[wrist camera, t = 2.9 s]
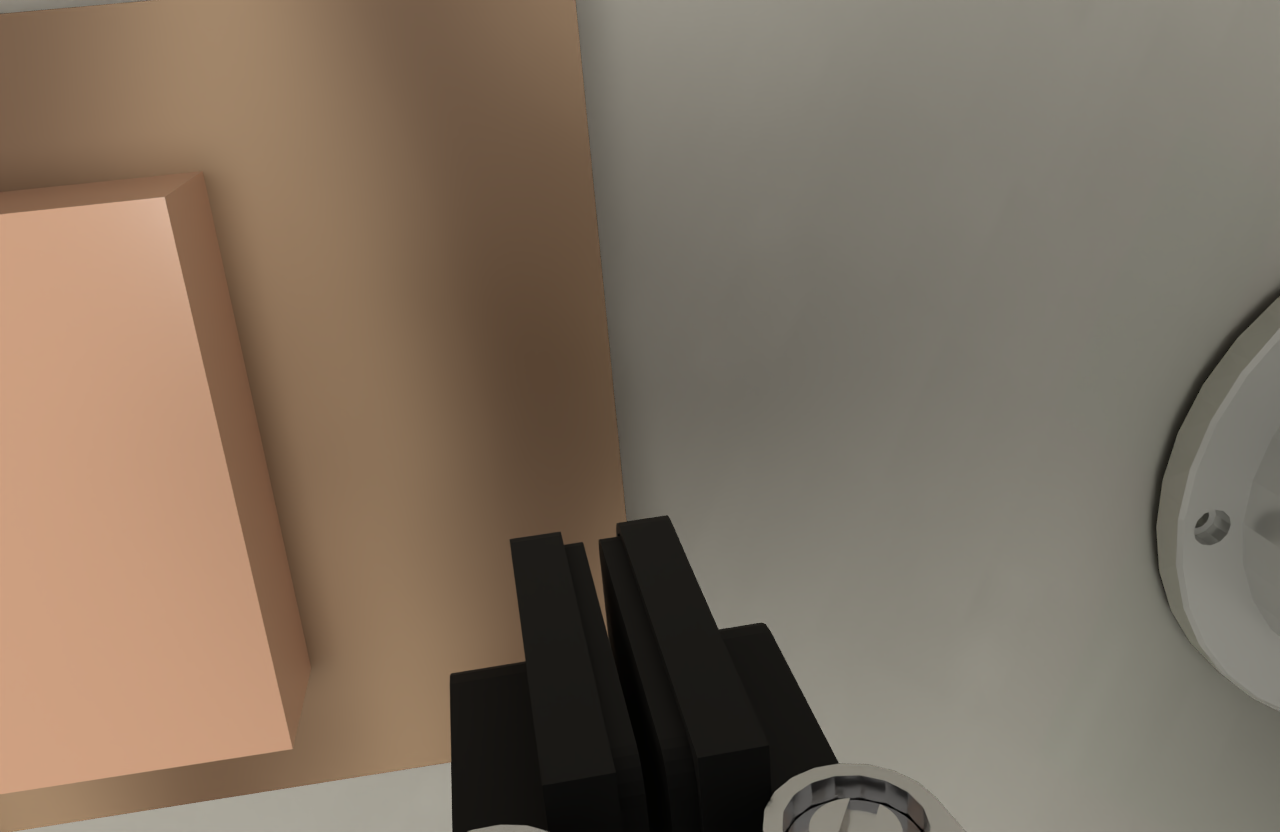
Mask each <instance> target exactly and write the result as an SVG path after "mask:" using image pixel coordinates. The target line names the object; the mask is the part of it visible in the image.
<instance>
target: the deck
mask: <svg viewBox="0 0 1280 832" xmlns="http://www.w3.org/2000/svg"><path fill="white" fill-rule="evenodd" d="M199 171H203V175H204V180H205V184H206V189H207V194H208V198H209V203H210V207H211V212H212V216H213V221H214V226H215V230H216V235H217V239H218V244H219V248H220V253H221V258H222V262H223V267H224V271H225V276H226V280H227V285H228V290H229V294H230V299H231V303H232V308H233V312H234V317H235V322H236V326H237V331H238V335H239V340H240V344H241V349H242V354H243V358H244V363H245V367H246V372H247V377H248V381H249V386H250V390H251V395H252V399H253V404H254V409H255V413H256V418H257V422H258V427H259V431H260V436H261V441H262V445H263V450H264V454H265V459H266V463H267V468H268V473H269V477H270V482H271V486H272V491H273V495H274V500H275V505H276V509H277V514H278V518H279V523H280V527H281V532H282V537H283V541H284V546H285V550H286V555H287V559H288V564H289V569H290V573H291V578H292V582H293V587H294V591H295V596H296V601H297V605H298V610H299V614H300V619H301V624H302V628H303V633H304V637H305V642H306V646H307V651H308V656H309V660H310V665H311V672H310V676H309V680H308V685H307V689H306V694H305V698H304V702H303V707H302V711H301V715H300V720H299V724H298V728H297V733H296V737H295V741H294V746H293V749H290V750H284V751H277V752H271V753H264V754H258V755H251V756H245V757H238V758H232V759H226V760H219V761H213V762H206V763H200V764H193V765H187V766H180V767H174V768H167V769H161V770H154V771H148V772H142V773H135V774H129V775H122V776H116V777H109V778H103V779H96V780H90V781H83V782H77V783H71V784H64V785H58V786H51V787H45V788H38V789H32V790H25V791H19V792H12V793H6V794H0V832H13V831H19V830H25V829H32V828H38V827H44V826H51V825H57V824H63V823H70V822H76V821H82V820H89V819H95V818H101V817H108V816H114V815H120V814H126V813H133V812H139V811H145V810H152V809H158V808H164V807H171V806H177V805H183V804H190V803H196V802H202V801H209V800H215V799H221V798H228V797H234V796H240V795H247V794H253V793H259V792H266V791H272V790H278V789H285V788H291V787H297V786H304V785H310V784H316V783H323V782H329V781H335V780H341V779H348V778H354V777H360V776H367V775H373V774H379V773H386V772H392V771H398V770H405V769H411V768H417V767H424V766H430V765H436V764H443V763H449V762H451V727H450V674H451V673H457V672H463V671H469V670H475V669H481V668H487V667H493V666H499V665H506V664H512V663H518V662H524V661H525V653H524V646H523V638H522V631H521V623H520V615H519V608H518V600H517V593H516V585H515V578H514V570H513V563H512V555H511V547H510V540H509V539H514V538H520V537H527V536H534V535H540V534H547V533H554V532H560V531H561V535H562V539H563V543H564V545H565V544H572V543H579V542H583V544H584V547H585V551H586V555H587V559H588V562H589V566H590V570H591V574H592V578H593V581H594V585H595V589H596V593H597V597H598V600H599V604H600V608H601V612H602V615H603V619H604V623H605V627H606V631H607V634H608V629H607V620H606V611H605V602H604V592H603V583H602V574H601V565H600V556H599V539H605V538H612V537H616V524H617V523H620V522H627V521H626V510H625V500H624V490H623V480H622V470H621V459H620V449H619V439H618V429H617V419H616V409H615V398H614V388H613V378H612V368H611V358H610V347H609V337H608V327H607V317H606V307H605V296H604V286H603V276H602V266H601V256H600V245H599V235H598V225H597V215H596V205H595V195H594V184H593V174H592V164H591V154H590V144H589V133H588V123H587V113H586V103H585V93H584V82H583V72H582V62H581V52H580V42H579V32H578V21H577V11H576V1H575V0H151V1H140V2H128V3H117V4H106V5H95V6H83V7H72V8H61V9H49V10H38V11H27V12H15V13H4V14H0V192H6V191H16V190H25V189H35V188H45V187H54V186H64V185H74V184H83V183H93V182H103V181H112V180H122V179H132V178H141V177H151V176H160V175H170V174H180V173H189V172H199Z"/></svg>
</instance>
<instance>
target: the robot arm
mask: <svg viewBox="0 0 1280 832" xmlns="http://www.w3.org/2000/svg"><path fill="white" fill-rule="evenodd" d="M1156 531H1157V546H1158V561H1159V572H1160V575H1161V579H1162V582H1163V585H1164V589H1165V592H1166V595H1167V599H1168V602H1169V605H1170V609H1171V611H1172V613H1173V614H1174V616H1175V618H1176V620H1177V621H1178V623H1179V625H1180V626H1181V628H1182V630H1183V631H1184V633H1185V635H1186V637H1187V638H1188V640H1189V642H1190V643H1191V644H1192V645H1193V646H1194V647H1195V648H1196V649H1197V650H1198V651H1199V652H1200V653H1201V654H1202V655H1203V656H1204V657H1205V658H1206V659H1207V660H1208V661H1209V662H1210V663H1211V664H1212V665H1213V666H1214V667H1215V668H1216V669H1217V670H1218V671H1219V672H1220V673H1221V674H1222V675H1223V676H1224V677H1226V678H1227V679H1228V680H1229V681H1231V682H1232V683H1233V684H1235V685H1236V686H1237V687H1238V688H1240V689H1241V690H1242V691H1244V692H1245V693H1246V694H1247V695H1249V696H1250V697H1251V698H1253V699H1255V700H1257V701H1259V702H1261V703H1263V704H1265V705H1267V706H1269V707H1271V708H1273V709H1275V710H1277V711H1280V297H1278V298H1277V299H1276V300H1275V301H1274V302H1273V303H1272V304H1271V305H1270V306H1269V307H1268V308H1267V309H1266V310H1265V311H1264V312H1263V313H1262V314H1261V315H1260V316H1259V317H1258V318H1257V319H1256V320H1255V321H1254V322H1253V323H1252V324H1251V325H1250V326H1249V327H1248V328H1247V329H1246V330H1245V331H1244V332H1243V333H1242V334H1241V335H1240V336H1239V337H1238V338H1237V339H1236V340H1235V342H1234V343H1233V345H1232V346H1231V347H1230V349H1229V350H1228V351H1227V353H1226V354H1225V355H1224V357H1223V358H1222V359H1221V361H1220V362H1219V364H1218V365H1217V366H1216V368H1215V369H1214V370H1213V372H1212V373H1211V374H1210V376H1209V377H1208V378H1207V380H1206V381H1205V383H1204V384H1203V386H1202V388H1201V389H1200V391H1199V393H1198V395H1197V397H1196V399H1195V401H1194V403H1193V405H1192V407H1191V409H1190V411H1189V413H1188V414H1187V416H1186V418H1185V420H1184V422H1183V424H1182V426H1181V428H1180V430H1179V432H1178V435H1177V438H1176V441H1175V444H1174V447H1173V450H1172V453H1171V456H1170V459H1169V462H1168V465H1167V468H1166V471H1165V474H1164V478H1163V481H1162V488H1161V496H1160V503H1159V511H1158V518H1157V526H1156ZM509 540H510V547H511V555H512V563H513V570H514V578H515V585H516V593H517V600H518V608H519V615H520V623H521V631H522V638H523V646H524V653H525V661H524V662H518V663H512V664H506V665H499V666H493V667H487V668H481V669H475V670H469V671H463V672H457V673H451V674H450V727H451V778H452V829H453V832H966V831H965V830H964V829H963V827H962V826H961V825H960V824H959V823H958V822H957V821H956V819H955V818H954V817H953V816H952V815H951V814H950V812H949V811H948V810H947V809H946V808H945V807H944V806H943V804H942V803H941V802H940V801H939V800H938V799H937V798H936V797H935V796H934V795H933V794H932V793H930V792H929V791H928V790H927V789H926V788H925V787H923V786H922V785H921V784H920V783H919V782H917V781H915V780H913V779H911V778H909V777H907V776H905V775H902V774H900V773H898V772H896V771H894V770H890V769H886V768H881V767H877V766H873V765H869V764H845V763H838V761H837V759H836V757H835V755H834V753H833V751H832V749H831V747H830V745H829V743H828V741H827V740H826V738H825V736H824V734H823V732H822V730H821V728H820V726H819V724H818V722H817V720H816V718H815V716H814V714H813V712H812V711H811V709H810V707H809V705H808V703H807V701H806V699H805V697H804V695H803V693H802V691H801V689H800V687H799V685H798V683H797V682H796V680H795V678H794V676H793V674H792V672H791V670H790V668H789V666H788V664H787V662H786V660H785V658H784V656H783V654H782V653H781V651H780V649H779V647H778V645H777V643H776V641H775V639H774V637H773V635H772V633H771V631H770V630H769V628H768V627H767V626H766V624H764V623H756V624H750V625H744V626H738V627H732V628H726V629H720V630H718V628H717V625H716V623H715V621H714V618H713V616H712V614H711V612H710V609H709V607H708V605H707V602H706V600H705V598H704V596H703V593H702V591H701V589H700V586H699V584H698V582H697V580H696V577H695V575H694V573H693V570H692V568H691V566H690V564H689V561H688V559H687V557H686V554H685V552H684V550H683V548H682V545H681V543H680V541H679V538H678V536H677V534H676V532H675V529H674V527H673V525H672V522H671V520H670V518H669V517H668V515H667V516H660V517H654V518H647V519H640V520H634V521H627V522H620V523H617V524H616V537H612V538H605V539H599V556H600V565H601V574H602V583H603V592H604V602H605V611H606V620H607V629H608V634H607V631H606V627H605V623H604V619H603V615H602V612H601V608H600V604H599V600H598V597H597V593H596V589H595V585H594V581H593V578H592V574H591V570H590V566H589V562H588V559H587V555H586V551H585V547H584V544H583V542H579V543H572V544H565V545H564V543H563V539H562V535H561V531H560V532H554V533H547V534H540V535H534V536H527V537H520V538H514V539H509Z"/></svg>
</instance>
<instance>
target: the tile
mask: <svg viewBox="0 0 1280 832" xmlns="http://www.w3.org/2000/svg"><path fill="white" fill-rule="evenodd" d="M310 672H311V665H310V660H309V656H308V651H307V646H306V642H305V637H304V633H303V628H302V624H301V619H300V614H299V610H298V605H297V601H296V596H295V591H294V587H293V582H292V578H291V573H290V569H289V564H288V559H287V555H286V550H285V546H284V541H283V537H282V532H281V527H280V523H279V518H278V514H277V509H276V505H275V500H274V495H273V491H272V486H271V482H270V477H269V473H268V468H267V463H266V459H265V454H264V450H263V445H262V441H261V436H260V431H259V427H258V422H257V418H256V413H255V409H254V404H253V399H252V395H251V390H250V386H249V381H248V377H247V372H246V367H245V363H244V358H243V354H242V349H241V344H240V340H239V335H238V331H237V326H236V322H235V317H234V312H233V308H232V303H231V299H230V294H229V290H228V285H227V280H226V276H225V271H224V267H223V262H222V258H221V253H220V248H219V244H218V239H217V235H216V230H215V226H214V221H213V216H212V212H211V207H210V203H209V198H208V194H207V189H206V184H205V180H204V175H203V171H199V172H189V173H180V174H170V175H160V176H151V177H141V178H132V179H122V180H112V181H103V182H93V183H83V184H74V185H64V186H54V187H45V188H35V189H25V190H16V191H6V192H0V794H6V793H12V792H19V791H25V790H32V789H38V788H45V787H51V786H58V785H64V784H71V783H77V782H83V781H90V780H96V779H103V778H109V777H116V776H122V775H129V774H135V773H142V772H148V771H154V770H161V769H167V768H174V767H180V766H187V765H193V764H200V763H206V762H213V761H219V760H226V759H232V758H238V757H245V756H251V755H258V754H264V753H271V752H277V751H284V750H290V749H293V746H294V741H295V737H296V733H297V728H298V724H299V720H300V715H301V711H302V707H303V702H304V698H305V694H306V689H307V685H308V680H309V676H310Z"/></svg>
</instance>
